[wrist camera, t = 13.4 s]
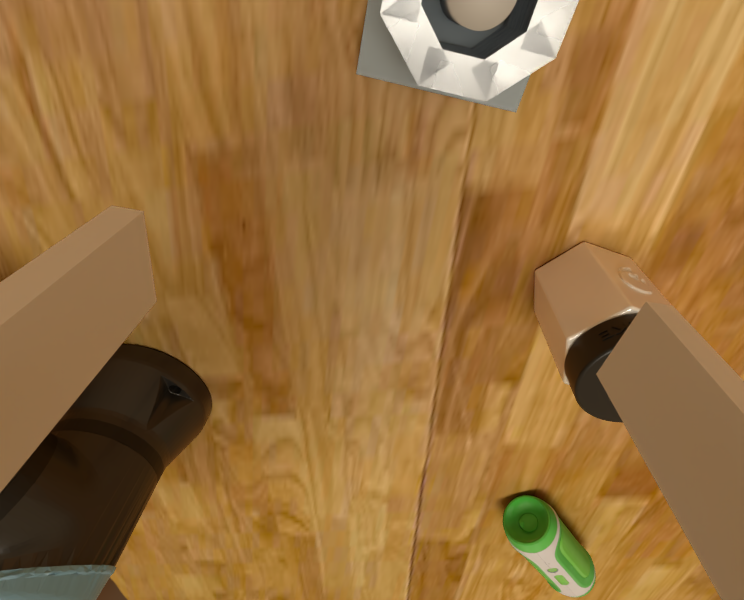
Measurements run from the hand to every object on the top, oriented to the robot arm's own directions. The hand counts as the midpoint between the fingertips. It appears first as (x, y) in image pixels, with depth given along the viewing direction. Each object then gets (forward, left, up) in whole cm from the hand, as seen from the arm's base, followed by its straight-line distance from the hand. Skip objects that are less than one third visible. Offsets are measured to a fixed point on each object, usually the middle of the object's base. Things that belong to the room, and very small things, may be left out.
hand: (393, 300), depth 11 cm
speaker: (+34, -49, -24) cm, 64 cm away
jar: (+19, -11, -23) cm, 32 cm away
